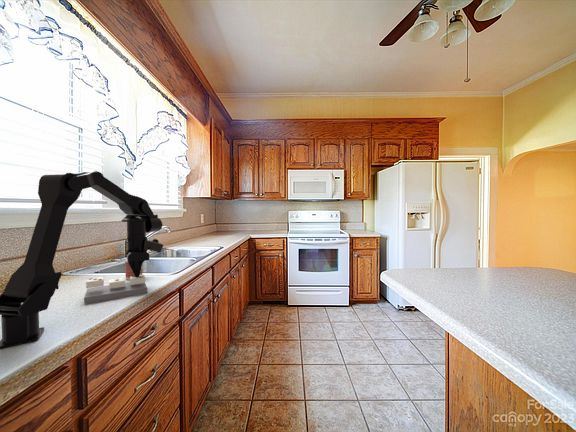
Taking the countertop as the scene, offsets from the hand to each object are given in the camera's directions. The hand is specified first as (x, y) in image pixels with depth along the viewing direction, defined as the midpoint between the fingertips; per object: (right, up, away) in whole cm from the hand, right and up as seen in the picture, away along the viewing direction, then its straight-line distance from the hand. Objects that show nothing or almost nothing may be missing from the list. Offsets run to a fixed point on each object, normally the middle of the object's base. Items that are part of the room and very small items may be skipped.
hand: (137, 277), depth 89 cm
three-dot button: (-10, -1, -7) cm, 12 cm away
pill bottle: (-12, -5, +17) cm, 21 cm away
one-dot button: (-5, -2, -3) cm, 6 cm away
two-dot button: (0, -2, 0) cm, 2 cm away
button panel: (-5, -5, -3) cm, 8 cm away
